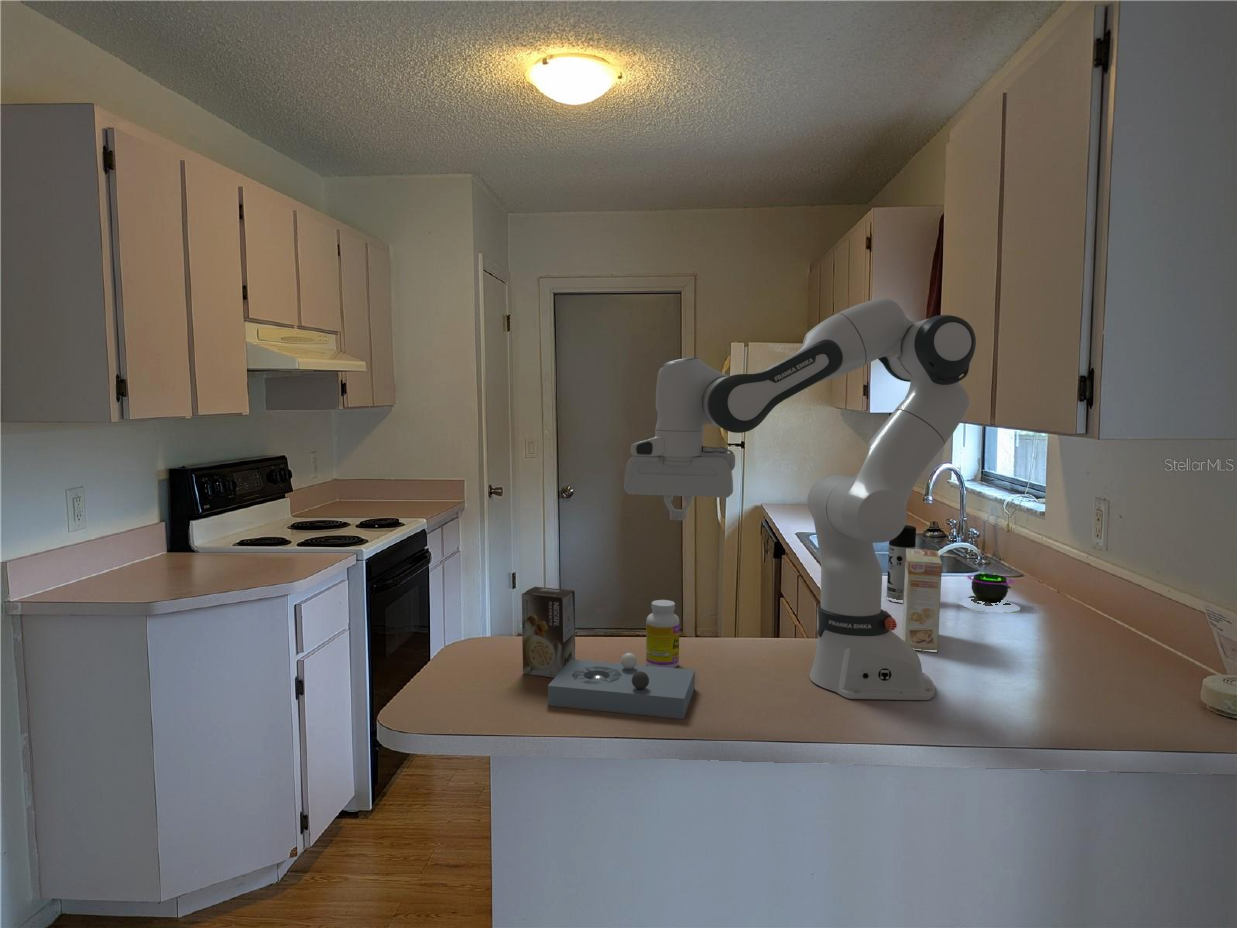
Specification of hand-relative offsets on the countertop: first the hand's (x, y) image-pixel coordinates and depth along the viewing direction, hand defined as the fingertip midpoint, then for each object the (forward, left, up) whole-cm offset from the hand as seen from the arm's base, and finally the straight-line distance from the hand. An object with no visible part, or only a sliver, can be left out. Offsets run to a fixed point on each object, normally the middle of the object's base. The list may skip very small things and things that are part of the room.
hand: (677, 519), depth 146 cm
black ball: (+4, +14, -26) cm, 30 cm away
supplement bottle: (+4, -8, -31) cm, 33 cm away
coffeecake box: (-49, -37, -31) cm, 69 cm away
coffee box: (+25, +1, -31) cm, 40 cm away
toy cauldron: (-71, -73, -32) cm, 107 cm away
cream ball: (+8, +5, -26) cm, 28 cm away
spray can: (-49, -72, -31) cm, 93 cm away
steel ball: (+13, +10, -29) cm, 33 cm away
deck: (+8, +10, -31) cm, 34 cm away
